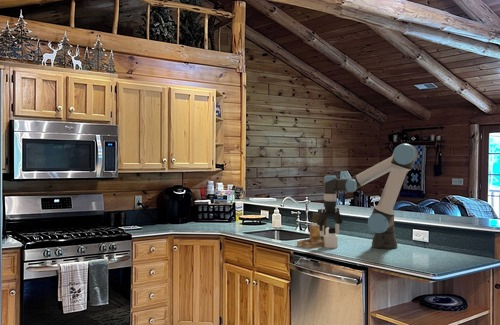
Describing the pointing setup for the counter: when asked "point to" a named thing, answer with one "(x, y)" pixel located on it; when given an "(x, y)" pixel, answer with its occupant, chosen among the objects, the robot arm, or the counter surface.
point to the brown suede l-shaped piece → (312, 238)
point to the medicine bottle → (330, 238)
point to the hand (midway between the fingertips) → (329, 235)
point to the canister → (315, 219)
